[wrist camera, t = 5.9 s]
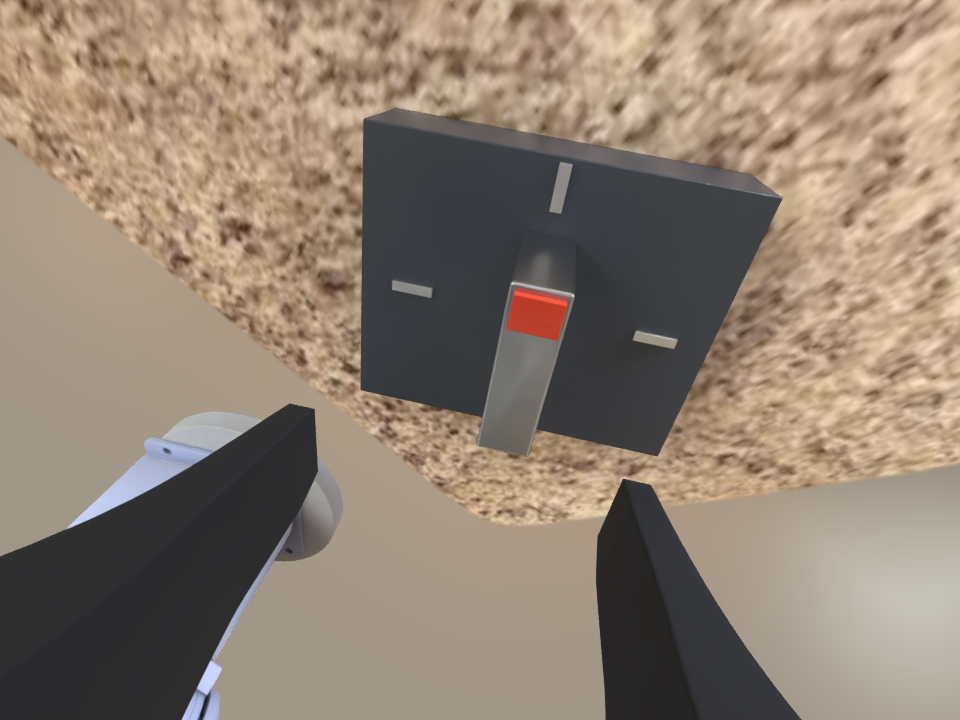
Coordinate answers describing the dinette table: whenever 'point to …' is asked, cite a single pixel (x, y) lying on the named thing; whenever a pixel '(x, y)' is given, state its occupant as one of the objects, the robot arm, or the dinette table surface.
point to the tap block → (598, 268)
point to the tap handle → (528, 342)
